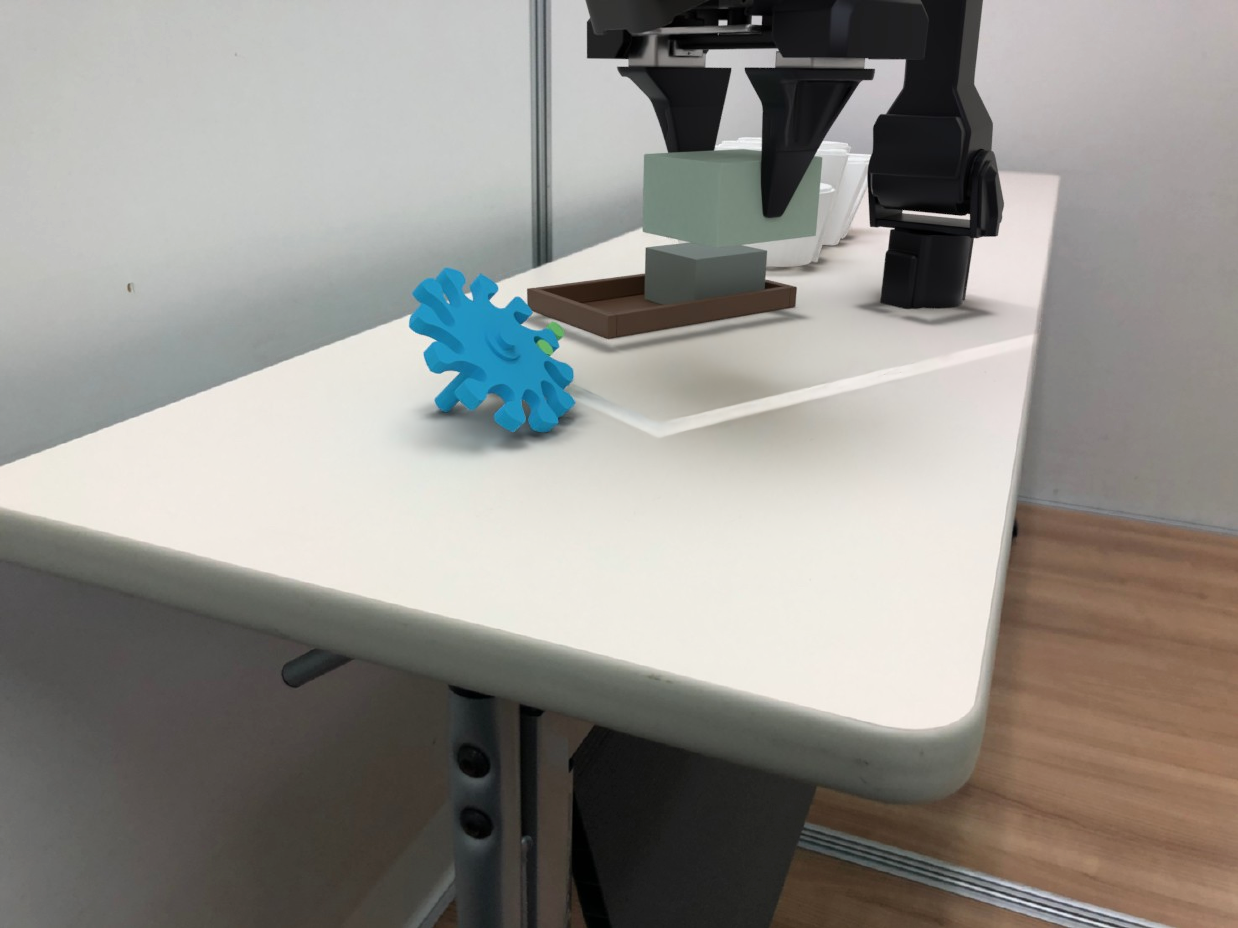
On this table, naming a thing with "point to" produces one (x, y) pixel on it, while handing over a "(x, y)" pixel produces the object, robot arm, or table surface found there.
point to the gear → (491, 352)
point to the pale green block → (722, 199)
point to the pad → (701, 272)
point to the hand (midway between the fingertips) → (729, 210)
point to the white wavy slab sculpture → (836, 202)
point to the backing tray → (646, 306)
